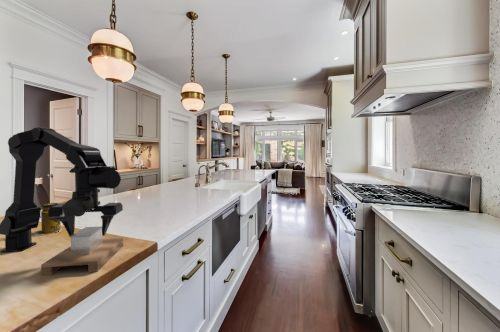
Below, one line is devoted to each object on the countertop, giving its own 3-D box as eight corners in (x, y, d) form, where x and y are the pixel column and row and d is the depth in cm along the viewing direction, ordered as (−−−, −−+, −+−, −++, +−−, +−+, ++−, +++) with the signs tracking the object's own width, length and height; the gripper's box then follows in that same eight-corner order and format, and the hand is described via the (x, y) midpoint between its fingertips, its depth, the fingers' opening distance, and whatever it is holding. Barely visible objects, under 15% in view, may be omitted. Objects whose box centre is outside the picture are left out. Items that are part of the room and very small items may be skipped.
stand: (80, 248, 78) (80, 239, 78) (123, 245, 80) (123, 237, 80) (41, 275, 60) (41, 264, 60) (97, 271, 63) (97, 261, 62)
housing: (86, 244, 74) (86, 227, 73) (102, 243, 74) (102, 226, 74) (71, 255, 66) (70, 235, 65) (89, 254, 67) (89, 234, 66)
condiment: (62, 231, 94) (61, 204, 94) (34, 236, 88) (33, 207, 88) (61, 227, 99) (60, 201, 99) (34, 232, 94) (33, 204, 93)
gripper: (31, 191, 60) (33, 248, 60) (107, 190, 63) (108, 244, 63) (60, 186, 71) (61, 234, 71) (122, 185, 74) (123, 231, 74)
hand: (88, 236), depth 70 cm, fingers open, 9 cm apart
